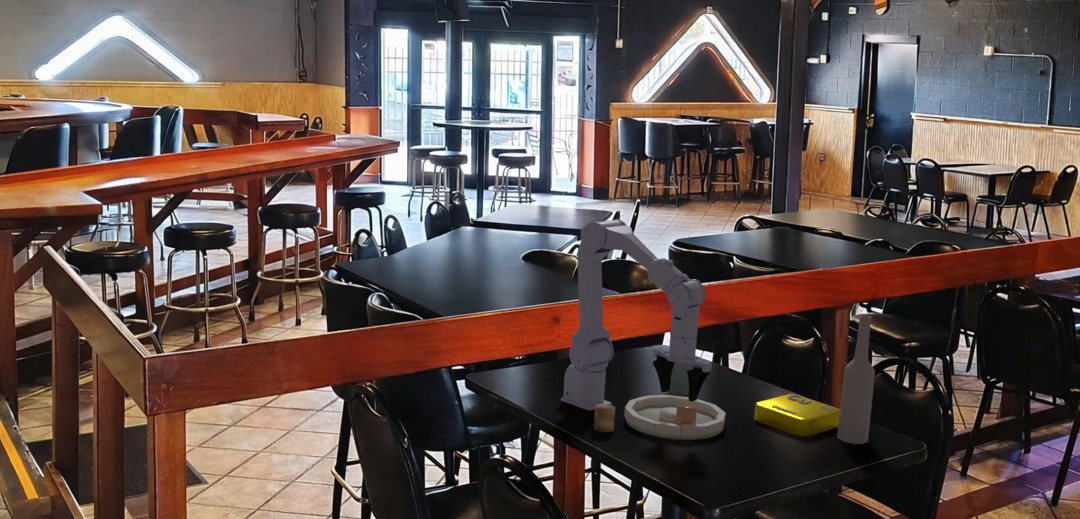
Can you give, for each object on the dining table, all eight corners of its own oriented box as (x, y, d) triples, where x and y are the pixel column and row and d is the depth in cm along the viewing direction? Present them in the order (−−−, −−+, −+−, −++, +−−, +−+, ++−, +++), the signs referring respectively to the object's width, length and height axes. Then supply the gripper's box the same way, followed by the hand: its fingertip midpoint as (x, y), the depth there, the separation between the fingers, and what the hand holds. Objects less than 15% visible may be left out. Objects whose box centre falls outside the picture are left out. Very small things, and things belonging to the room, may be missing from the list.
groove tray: (605, 419, 237) (606, 406, 236) (666, 401, 252) (667, 389, 251) (682, 447, 221) (683, 433, 221) (743, 426, 236) (744, 413, 236)
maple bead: (589, 428, 230) (590, 406, 229) (603, 424, 233) (604, 402, 233) (604, 433, 227) (605, 411, 226) (617, 429, 230) (619, 407, 229)
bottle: (850, 445, 227) (863, 320, 222) (830, 435, 233) (843, 313, 228) (874, 443, 230) (888, 319, 225) (854, 433, 236) (867, 312, 231)
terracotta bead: (671, 427, 230) (672, 405, 229) (683, 423, 233) (685, 402, 232) (687, 433, 227) (688, 411, 226) (699, 429, 230) (701, 407, 229)
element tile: (750, 420, 242) (751, 400, 242) (789, 409, 252) (791, 390, 251) (803, 439, 231) (805, 419, 230) (843, 427, 241) (845, 407, 240)
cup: (693, 400, 254) (696, 361, 252) (661, 397, 255) (664, 357, 253) (695, 391, 261) (698, 353, 259) (664, 388, 263) (666, 349, 261)
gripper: (645, 331, 229) (641, 390, 231) (699, 345, 219) (694, 408, 221) (666, 326, 234) (661, 385, 236) (719, 341, 224) (714, 401, 226)
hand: (678, 396), depth 229 cm, fingers open, 7 cm apart
